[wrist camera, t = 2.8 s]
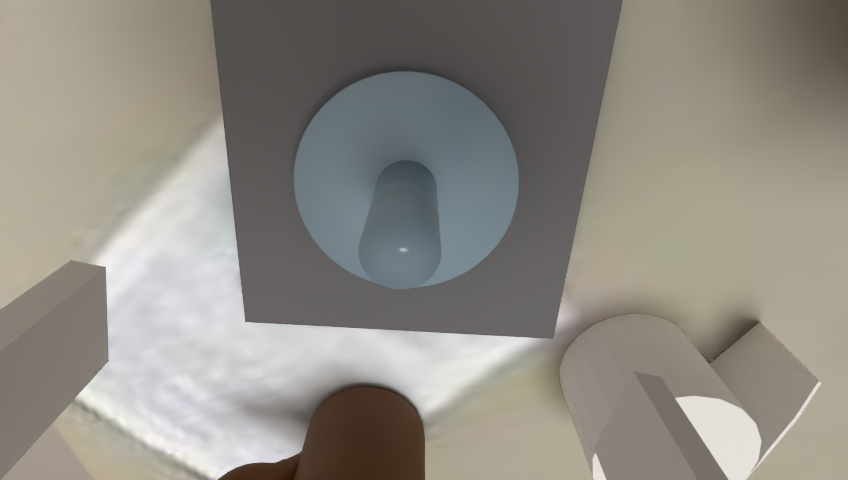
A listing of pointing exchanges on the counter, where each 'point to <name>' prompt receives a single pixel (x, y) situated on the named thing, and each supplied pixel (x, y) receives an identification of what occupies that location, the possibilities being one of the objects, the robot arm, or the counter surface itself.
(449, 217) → the lid
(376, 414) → the mug
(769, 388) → the toilet paper
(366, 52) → the mat
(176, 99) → the counter surface
